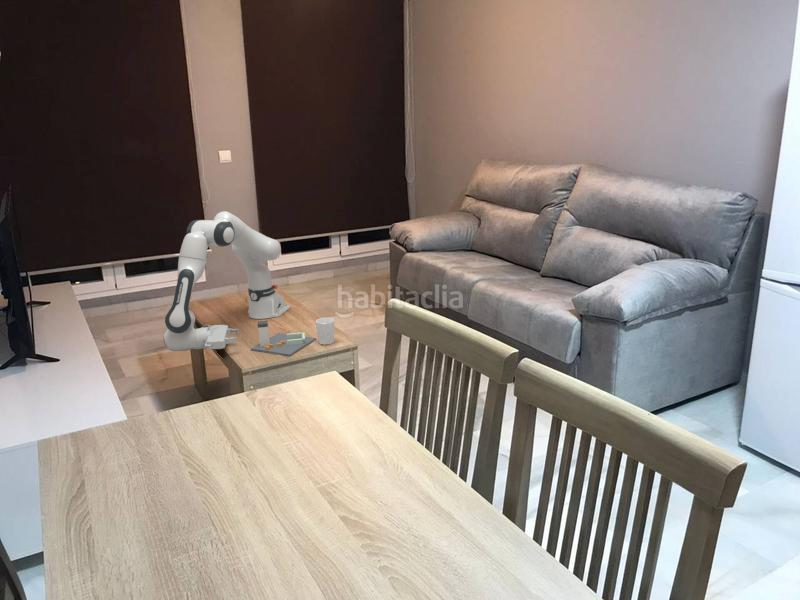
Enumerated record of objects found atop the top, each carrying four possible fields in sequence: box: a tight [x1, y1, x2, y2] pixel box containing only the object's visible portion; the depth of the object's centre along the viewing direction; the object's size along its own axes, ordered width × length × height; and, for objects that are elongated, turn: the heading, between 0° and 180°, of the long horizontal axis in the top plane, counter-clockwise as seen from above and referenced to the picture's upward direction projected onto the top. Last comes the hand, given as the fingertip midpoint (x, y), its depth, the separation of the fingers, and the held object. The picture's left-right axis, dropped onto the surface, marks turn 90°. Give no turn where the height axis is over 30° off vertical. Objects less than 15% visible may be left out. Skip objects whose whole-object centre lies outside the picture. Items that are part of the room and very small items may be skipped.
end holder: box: [286, 331, 306, 345], centre depth 284 cm, size 8×9×2 cm
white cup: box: [315, 317, 336, 345], centre depth 282 cm, size 8×8×10 cm
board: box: [250, 332, 317, 357], centre depth 282 cm, size 20×20×2 cm
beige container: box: [257, 320, 270, 347], centre depth 280 cm, size 4×4×10 cm
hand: (237, 335), depth 279 cm, fingers open, 8 cm apart
